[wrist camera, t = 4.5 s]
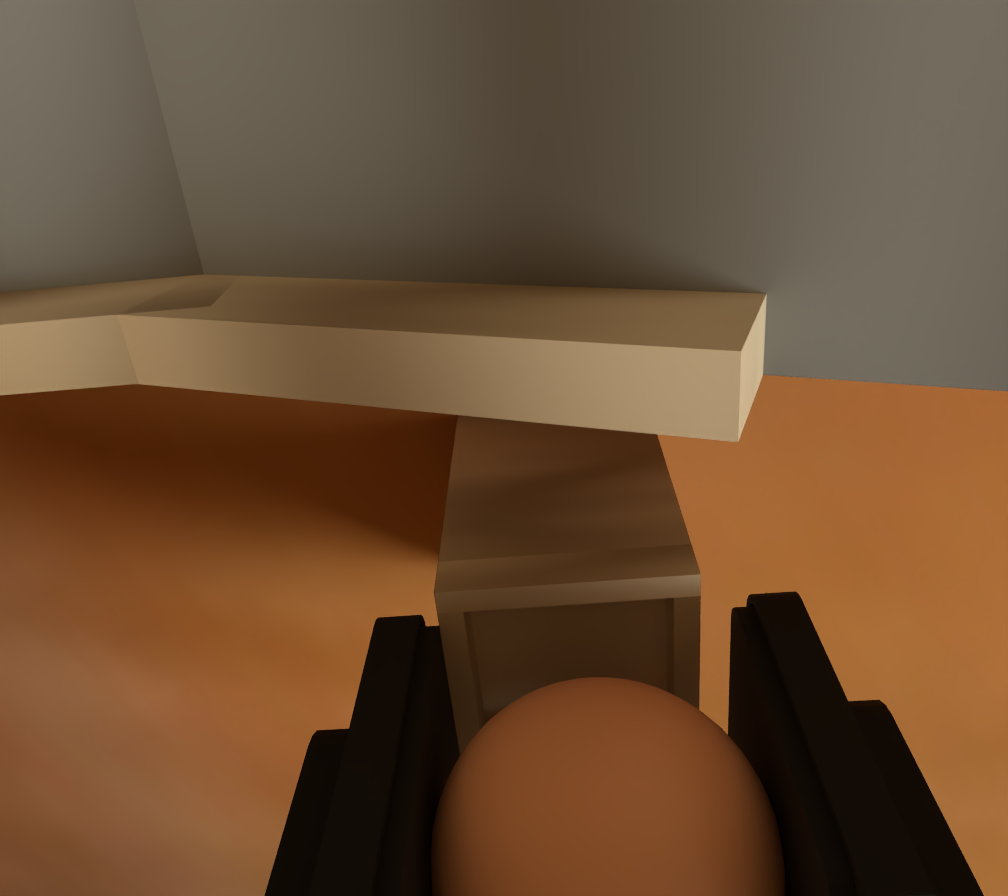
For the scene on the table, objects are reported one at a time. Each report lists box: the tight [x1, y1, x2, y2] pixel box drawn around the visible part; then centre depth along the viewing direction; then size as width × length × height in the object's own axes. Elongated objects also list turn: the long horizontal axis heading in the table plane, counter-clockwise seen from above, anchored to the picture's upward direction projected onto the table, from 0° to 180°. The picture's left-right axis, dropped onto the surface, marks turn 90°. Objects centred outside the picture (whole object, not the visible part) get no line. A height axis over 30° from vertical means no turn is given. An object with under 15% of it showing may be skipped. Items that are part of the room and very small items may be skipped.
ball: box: [431, 677, 785, 896], centre depth 9 cm, size 4×4×4 cm
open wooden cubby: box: [434, 416, 701, 755], centre depth 13 cm, size 3×3×5 cm
